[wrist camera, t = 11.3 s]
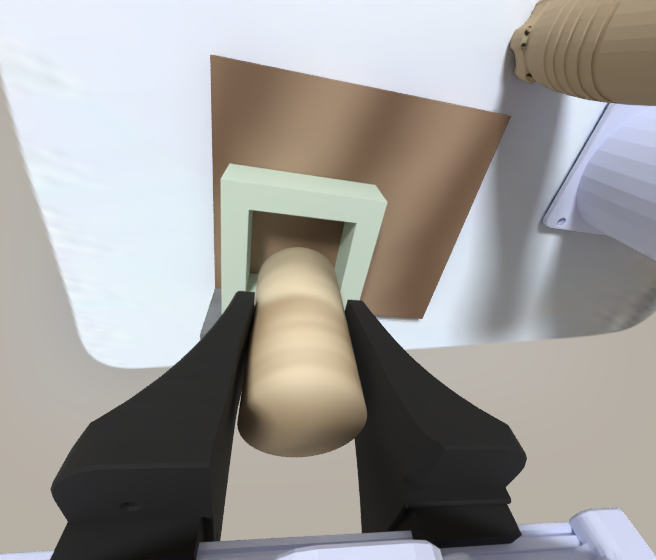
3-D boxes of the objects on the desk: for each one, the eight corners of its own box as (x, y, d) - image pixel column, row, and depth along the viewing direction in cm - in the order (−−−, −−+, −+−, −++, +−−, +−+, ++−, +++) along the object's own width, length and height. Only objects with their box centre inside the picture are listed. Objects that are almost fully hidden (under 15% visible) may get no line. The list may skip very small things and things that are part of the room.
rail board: (499, 113, 16) (570, 130, 12) (417, 309, 24) (444, 362, 19) (214, 55, 14) (184, 53, 10) (218, 294, 21) (201, 350, 17)
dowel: (329, 314, 16) (352, 456, 10) (256, 309, 15) (236, 458, 10) (343, 251, 14) (380, 383, 8) (259, 243, 13) (238, 379, 8)
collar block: (375, 185, 17) (387, 202, 15) (346, 297, 21) (353, 322, 19) (229, 163, 16) (220, 178, 13) (228, 287, 20) (221, 314, 17)
